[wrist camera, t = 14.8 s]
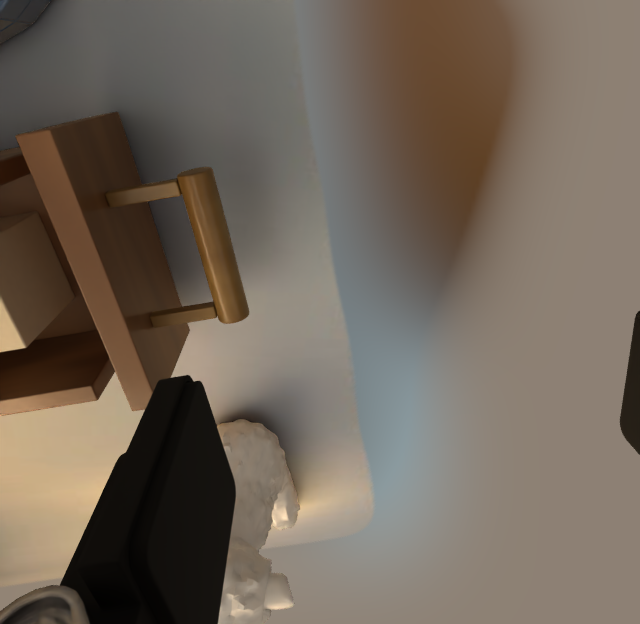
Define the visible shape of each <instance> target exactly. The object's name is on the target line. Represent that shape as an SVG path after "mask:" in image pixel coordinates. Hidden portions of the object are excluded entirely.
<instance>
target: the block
mask: <svg viewBox="0 0 640 624" xmlns="http://www.w3.org/2000/svg"><path fill="white" fill-rule="evenodd" d="M74 298H75V296H74V293H73V291H72V289H71V287H70V284H69V282H68V280H67V277H66V275H65V273H64V271H63V268H62V266H61V264H60V262H59V259H58V257H57V255H56V252H55V250H54V248H53V246H52V243H51V241H50V239H49V237H48V234H47V232H46V230H45V227H44V225H43V223H42V221H41V218H40V216H39V214H38V212H36V211H35V212H29V213H24V214H18V215H13V216H7V217H1V218H0V352H4V351H10V350H16V349H22V348H26V347H28V346H29V345H30V344H31V342H32V341H33V340H34V339H35V338H36V337H37V336H38V335H39V334H40V333H41V332H42V331H43V330H44V329H45V328H46V327H47V326H48V325H49V324H50V323H51V322H52V321H53V320H54V319H55V317H56V316H57V315H58V314H59V313H60V312H61V311H62V310H63V309H64V308H65V307H66V306H67V305H68V304H69V303H70V302H71V301H72V300H73V299H74Z"/></svg>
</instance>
